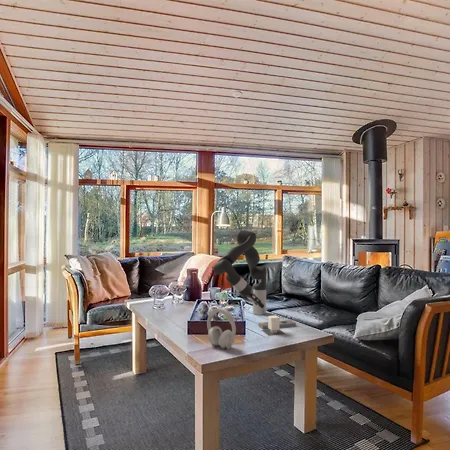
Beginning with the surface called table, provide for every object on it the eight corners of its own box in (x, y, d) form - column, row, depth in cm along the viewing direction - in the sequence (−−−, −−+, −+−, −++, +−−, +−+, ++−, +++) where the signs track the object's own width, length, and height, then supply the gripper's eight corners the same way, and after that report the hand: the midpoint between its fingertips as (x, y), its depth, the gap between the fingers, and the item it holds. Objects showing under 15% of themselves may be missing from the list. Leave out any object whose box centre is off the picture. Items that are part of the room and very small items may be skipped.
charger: (268, 331, 214) (268, 316, 214) (275, 330, 216) (275, 315, 216) (271, 333, 209) (271, 318, 209) (279, 333, 211) (279, 317, 211)
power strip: (258, 326, 225) (258, 322, 225) (290, 324, 231) (290, 319, 231) (262, 330, 218) (262, 325, 218) (295, 327, 224) (295, 322, 224)
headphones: (202, 344, 193) (202, 306, 193) (213, 340, 199) (213, 304, 199) (229, 353, 180) (229, 313, 180) (239, 349, 186) (240, 310, 186)
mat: (261, 331, 216) (261, 330, 216) (278, 329, 219) (278, 328, 219) (268, 336, 206) (268, 335, 206) (286, 335, 209) (286, 334, 209)
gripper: (250, 283, 200) (269, 303, 204) (242, 279, 214) (260, 298, 217) (241, 294, 199) (260, 313, 202) (233, 289, 213) (251, 307, 216)
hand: (260, 305), depth 210 cm, fingers open, 8 cm apart
